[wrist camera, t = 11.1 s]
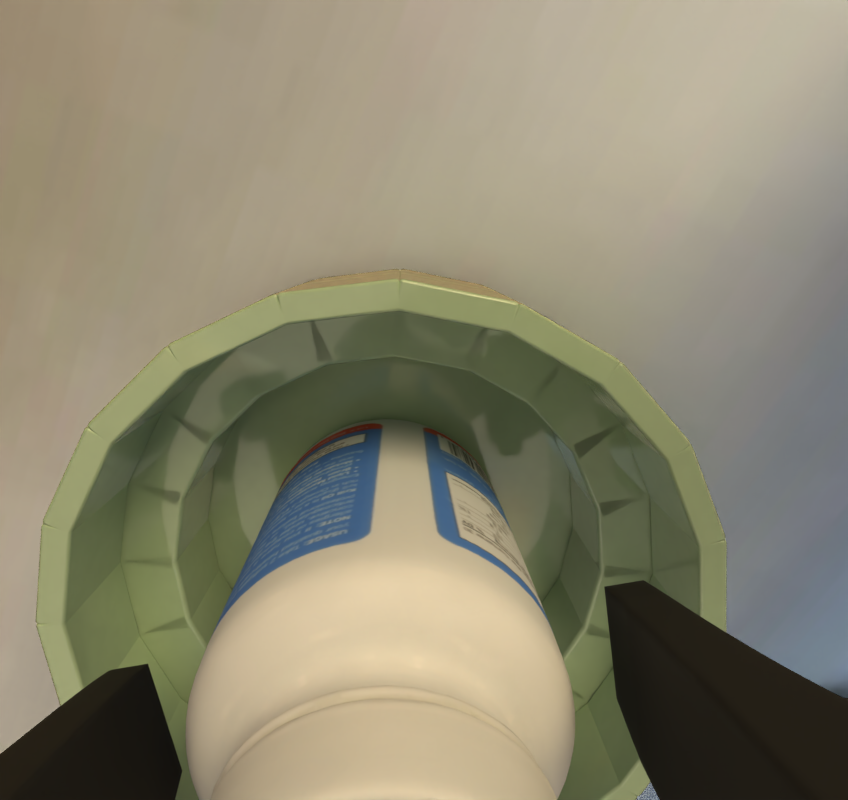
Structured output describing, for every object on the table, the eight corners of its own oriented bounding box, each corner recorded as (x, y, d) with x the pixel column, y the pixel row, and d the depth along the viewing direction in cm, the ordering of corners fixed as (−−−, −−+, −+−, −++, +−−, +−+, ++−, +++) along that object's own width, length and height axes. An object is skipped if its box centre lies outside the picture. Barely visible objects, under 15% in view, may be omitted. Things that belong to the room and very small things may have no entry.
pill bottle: (272, 609, 16) (74, 1158, 6) (282, 404, 14) (54, 702, 5) (486, 625, 16) (606, 1169, 7) (515, 425, 15) (713, 744, 5)
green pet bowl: (687, 325, 15) (824, 363, 10) (562, 741, 18) (623, 929, 13) (179, 222, 14) (58, 209, 9) (131, 678, 17) (19, 855, 12)
